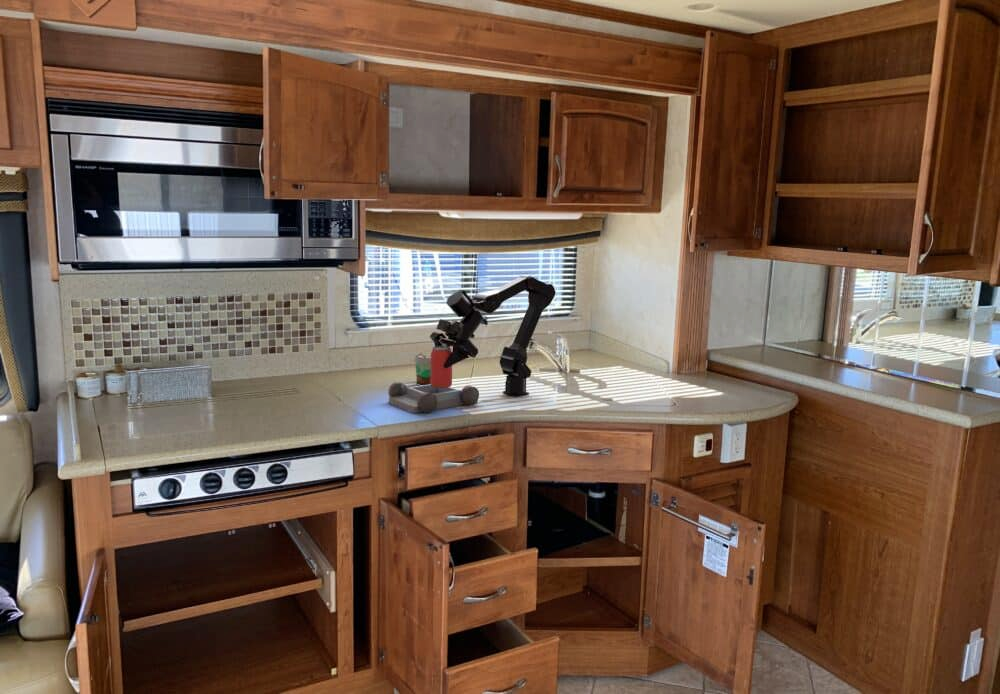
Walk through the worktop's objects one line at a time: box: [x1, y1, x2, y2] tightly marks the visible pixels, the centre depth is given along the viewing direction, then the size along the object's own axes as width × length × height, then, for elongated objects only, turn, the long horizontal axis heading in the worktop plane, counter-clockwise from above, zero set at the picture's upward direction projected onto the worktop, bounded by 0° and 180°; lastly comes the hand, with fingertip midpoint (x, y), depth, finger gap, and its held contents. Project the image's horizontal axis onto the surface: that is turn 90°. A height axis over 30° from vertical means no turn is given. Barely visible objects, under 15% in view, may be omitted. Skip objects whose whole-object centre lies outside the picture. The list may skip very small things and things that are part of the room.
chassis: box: [387, 381, 480, 414], centre depth 247 cm, size 24×18×6 cm
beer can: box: [430, 346, 453, 388], centre depth 241 cm, size 7×7×12 cm
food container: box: [413, 352, 431, 386], centre depth 271 cm, size 12×6×10 cm, turn 40°
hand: (437, 365), depth 240 cm, fingers closed on beer can, 7 cm apart
